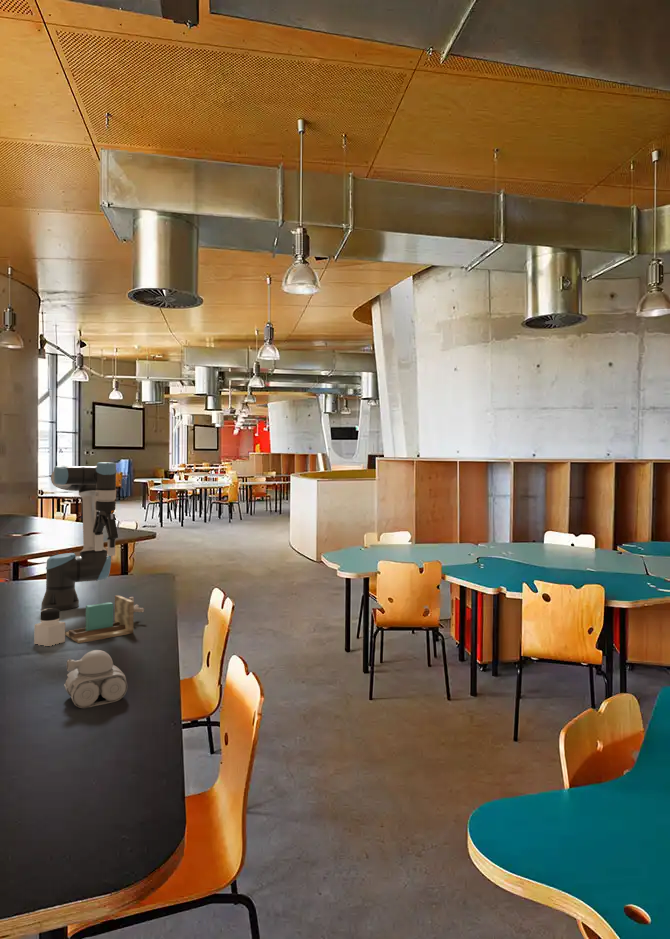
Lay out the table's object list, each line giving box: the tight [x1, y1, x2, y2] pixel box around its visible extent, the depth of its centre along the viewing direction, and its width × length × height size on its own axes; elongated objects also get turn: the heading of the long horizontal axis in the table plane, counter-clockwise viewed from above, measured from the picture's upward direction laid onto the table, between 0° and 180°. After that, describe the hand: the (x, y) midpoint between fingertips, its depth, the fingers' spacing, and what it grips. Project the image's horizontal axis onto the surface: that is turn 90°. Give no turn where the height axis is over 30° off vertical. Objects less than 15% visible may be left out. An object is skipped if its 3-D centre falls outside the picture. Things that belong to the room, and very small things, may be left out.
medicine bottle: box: [33, 608, 66, 647], centre depth 205 cm, size 7×7×12 cm
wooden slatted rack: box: [65, 594, 135, 644], centre depth 217 cm, size 14×20×12 cm
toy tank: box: [63, 649, 128, 709], centre depth 156 cm, size 15×11×13 cm
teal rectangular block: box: [85, 601, 114, 631], centre depth 217 cm, size 3×9×10 cm, turn 133°
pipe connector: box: [128, 596, 145, 613], centre depth 234 cm, size 10×10×10 cm
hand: (104, 553), depth 234 cm, fingers open, 13 cm apart
